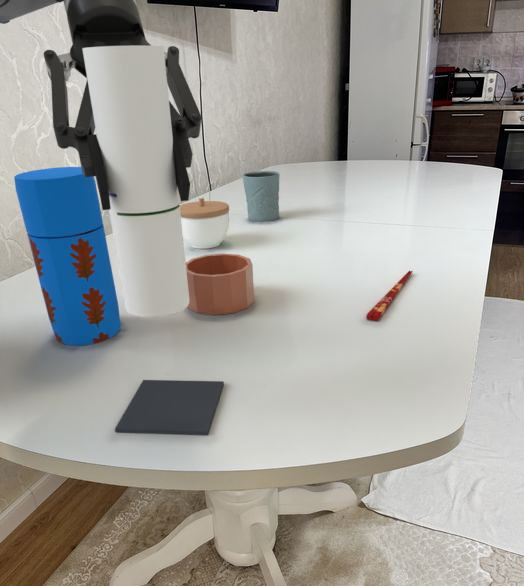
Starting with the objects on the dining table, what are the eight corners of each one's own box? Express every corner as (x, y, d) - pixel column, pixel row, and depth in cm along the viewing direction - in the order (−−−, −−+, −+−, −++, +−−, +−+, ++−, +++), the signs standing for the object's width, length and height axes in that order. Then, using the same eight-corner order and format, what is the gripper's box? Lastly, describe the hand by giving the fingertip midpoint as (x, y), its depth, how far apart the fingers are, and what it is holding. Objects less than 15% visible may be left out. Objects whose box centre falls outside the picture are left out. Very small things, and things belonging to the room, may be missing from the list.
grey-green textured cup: (274, 223, 142) (272, 177, 137) (239, 221, 146) (236, 176, 140) (285, 214, 151) (284, 170, 145) (252, 212, 154) (249, 170, 148)
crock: (174, 301, 96) (170, 264, 93) (228, 284, 103) (225, 249, 99) (211, 320, 88) (207, 281, 84) (267, 301, 94) (265, 263, 91)
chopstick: (414, 273, 103) (414, 269, 103) (377, 321, 85) (378, 316, 84) (404, 272, 104) (404, 268, 104) (366, 319, 86) (366, 314, 85)
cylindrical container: (165, 287, 63) (135, 49, 52) (202, 302, 59) (179, 45, 47) (113, 305, 59) (67, 49, 47) (148, 322, 54) (108, 45, 43)
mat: (115, 432, 61) (114, 428, 61) (143, 382, 71) (143, 379, 71) (207, 435, 60) (207, 431, 60) (224, 384, 70) (223, 381, 69)
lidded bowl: (203, 234, 135) (199, 191, 130) (242, 241, 128) (239, 195, 123) (168, 247, 126) (162, 201, 121) (208, 255, 119) (204, 206, 114)
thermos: (70, 353, 79) (28, 183, 68) (43, 331, 87) (1, 174, 75) (134, 330, 86) (106, 171, 74) (104, 312, 93) (74, 164, 81)
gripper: (191, 41, 62) (239, 207, 56) (12, 47, 57) (44, 231, 51) (196, -20, 55) (252, 162, 49) (-7, -20, 50) (27, 184, 44)
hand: (146, 196), depth 50 cm, fingers closed on cylindrical container, 7 cm apart
